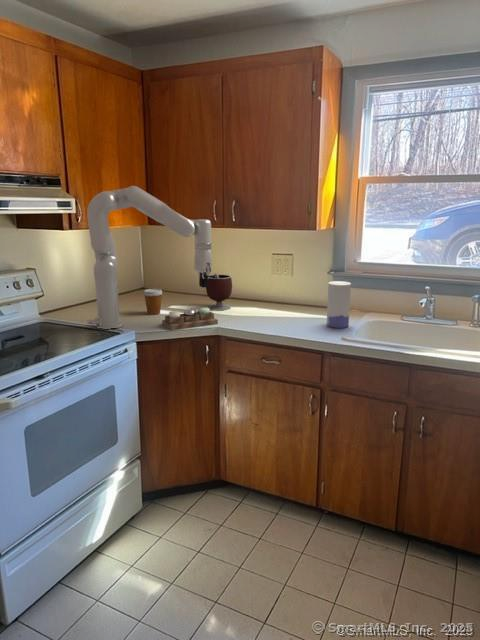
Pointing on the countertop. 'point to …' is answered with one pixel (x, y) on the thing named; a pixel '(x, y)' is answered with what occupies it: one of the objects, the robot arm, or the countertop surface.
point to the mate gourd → (219, 291)
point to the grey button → (189, 312)
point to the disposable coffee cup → (153, 300)
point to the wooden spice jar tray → (189, 321)
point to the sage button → (204, 311)
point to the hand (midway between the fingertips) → (203, 286)
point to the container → (338, 304)
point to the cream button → (174, 314)
